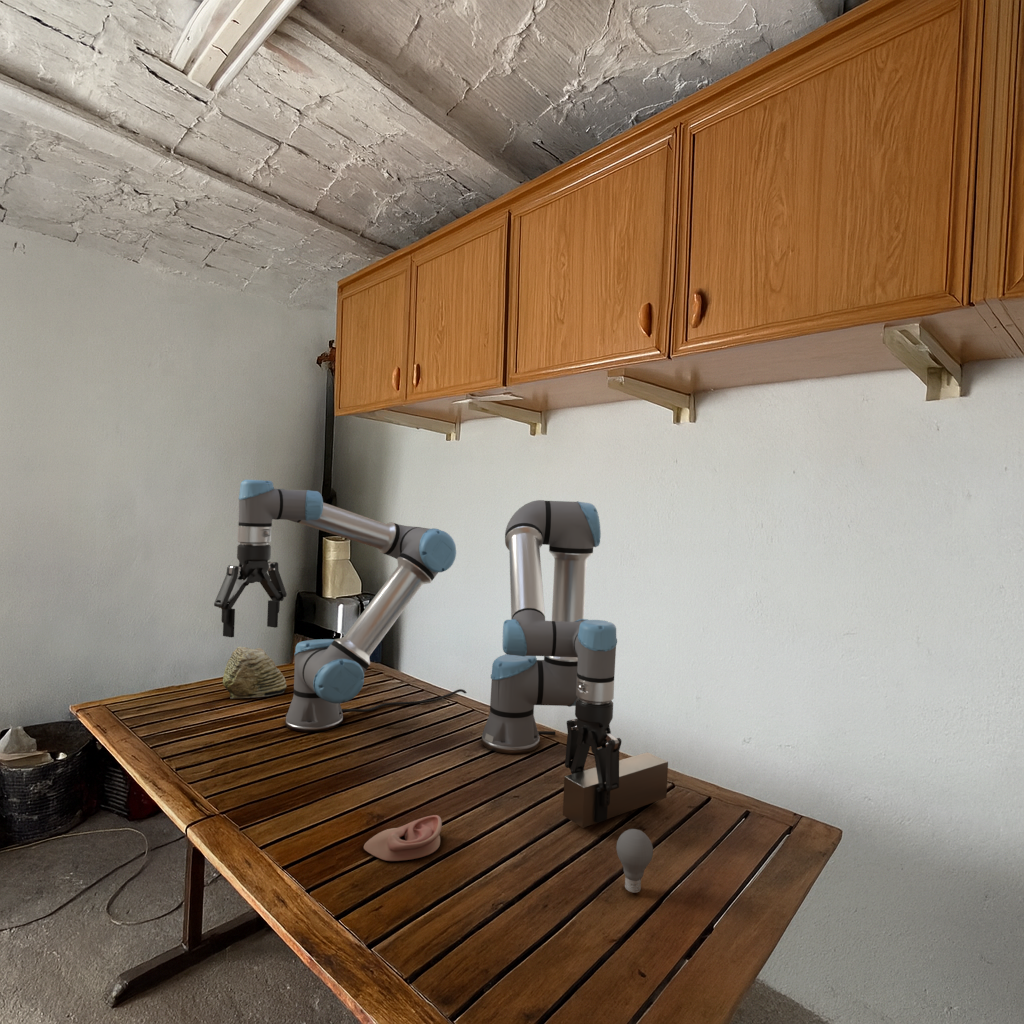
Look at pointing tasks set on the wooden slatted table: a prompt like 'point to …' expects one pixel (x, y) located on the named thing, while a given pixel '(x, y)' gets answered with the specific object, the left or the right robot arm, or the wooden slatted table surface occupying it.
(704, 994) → the wooden slatted table surface
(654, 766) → the bar
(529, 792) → the wooden slatted table surface
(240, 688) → the fossil
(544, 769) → the wooden slatted table surface
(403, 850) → the anatomical model
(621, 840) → the light bulb
